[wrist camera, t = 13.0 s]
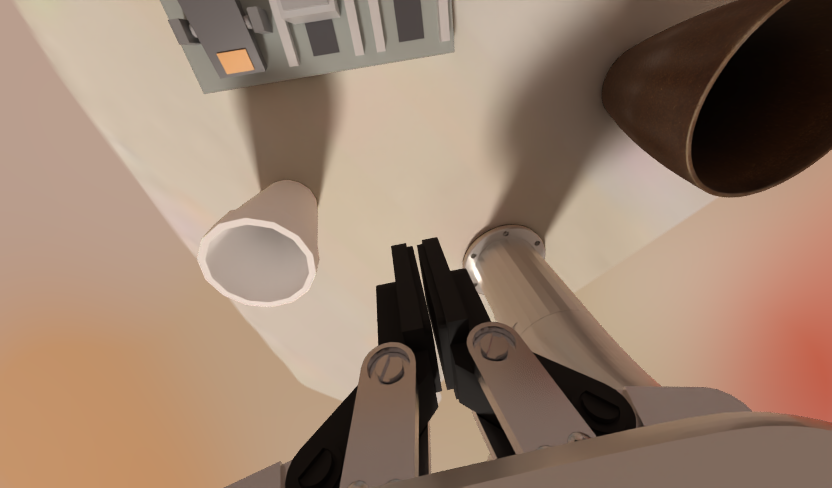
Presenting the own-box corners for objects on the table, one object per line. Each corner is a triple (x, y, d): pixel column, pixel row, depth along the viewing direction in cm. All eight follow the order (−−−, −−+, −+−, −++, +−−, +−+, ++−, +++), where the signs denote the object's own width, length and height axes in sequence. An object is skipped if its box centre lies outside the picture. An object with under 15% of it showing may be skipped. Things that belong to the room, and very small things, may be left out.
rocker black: (270, 66, 28) (268, 71, 27) (220, 74, 28) (216, 80, 27) (227, -37, 23) (223, -35, 22) (164, -28, 22) (158, -25, 21)
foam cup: (269, 244, 40) (232, 316, 29) (233, 177, 35) (172, 234, 24) (340, 227, 40) (330, 293, 29) (315, 159, 35) (291, 207, 24)
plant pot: (589, 171, 40) (699, 229, 27) (550, 65, 33) (675, 73, 20) (702, 98, 37) (890, 124, 24) (687, -36, 30) (949, -110, 16)
